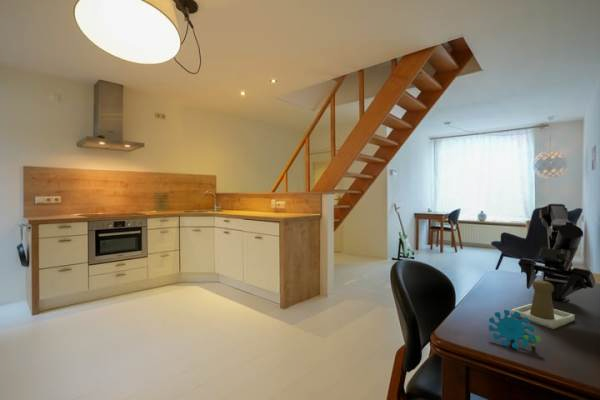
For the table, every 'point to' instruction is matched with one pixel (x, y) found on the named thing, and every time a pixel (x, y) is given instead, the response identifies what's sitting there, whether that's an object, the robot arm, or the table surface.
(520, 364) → the table surface
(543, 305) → the cork
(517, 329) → the gear
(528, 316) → the tray
